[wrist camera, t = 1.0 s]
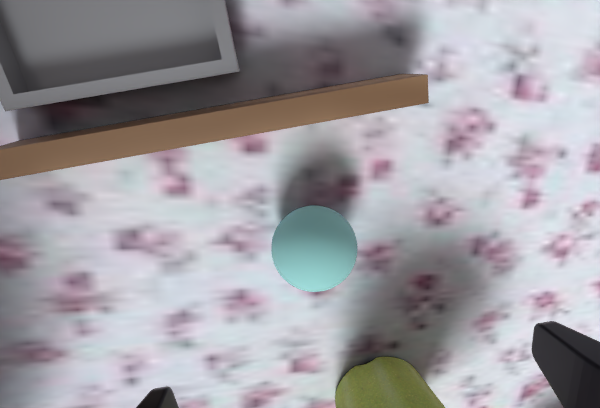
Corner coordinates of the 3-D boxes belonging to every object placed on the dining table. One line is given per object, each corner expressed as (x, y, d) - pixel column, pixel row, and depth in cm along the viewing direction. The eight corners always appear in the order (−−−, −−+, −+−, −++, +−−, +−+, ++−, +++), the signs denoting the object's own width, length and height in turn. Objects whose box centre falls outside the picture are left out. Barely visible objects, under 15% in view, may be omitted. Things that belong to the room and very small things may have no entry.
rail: (402, 98, 19) (428, 102, 17) (28, 164, 18) (-12, 182, 15) (401, 73, 19) (427, 74, 16) (18, 140, 18) (-26, 154, 15)
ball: (349, 256, 22) (372, 299, 18) (277, 271, 22) (282, 318, 18) (341, 187, 21) (363, 216, 16) (262, 202, 20) (265, 235, 16)
